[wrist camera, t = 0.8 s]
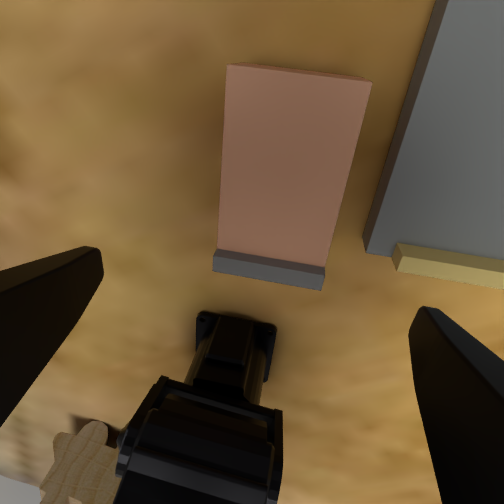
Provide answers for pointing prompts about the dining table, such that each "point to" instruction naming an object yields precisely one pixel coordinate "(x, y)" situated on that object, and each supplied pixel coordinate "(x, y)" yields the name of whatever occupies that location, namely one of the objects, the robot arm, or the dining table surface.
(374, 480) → the dining table surface
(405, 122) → the dock
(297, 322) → the dining table surface
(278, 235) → the pink panel on base
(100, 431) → the toy train
